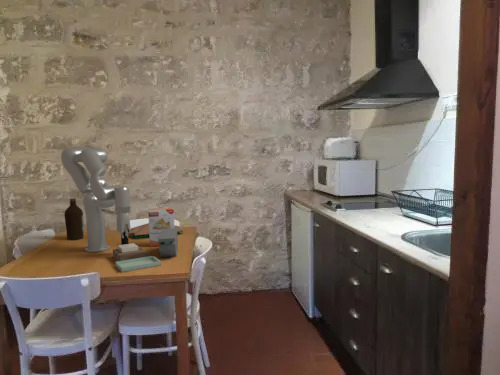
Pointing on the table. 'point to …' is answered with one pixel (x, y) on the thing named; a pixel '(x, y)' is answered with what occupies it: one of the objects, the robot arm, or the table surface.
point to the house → (146, 230)
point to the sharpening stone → (168, 242)
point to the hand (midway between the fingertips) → (125, 245)
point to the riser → (129, 254)
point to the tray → (137, 263)
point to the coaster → (127, 247)
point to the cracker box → (159, 223)
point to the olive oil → (74, 221)
